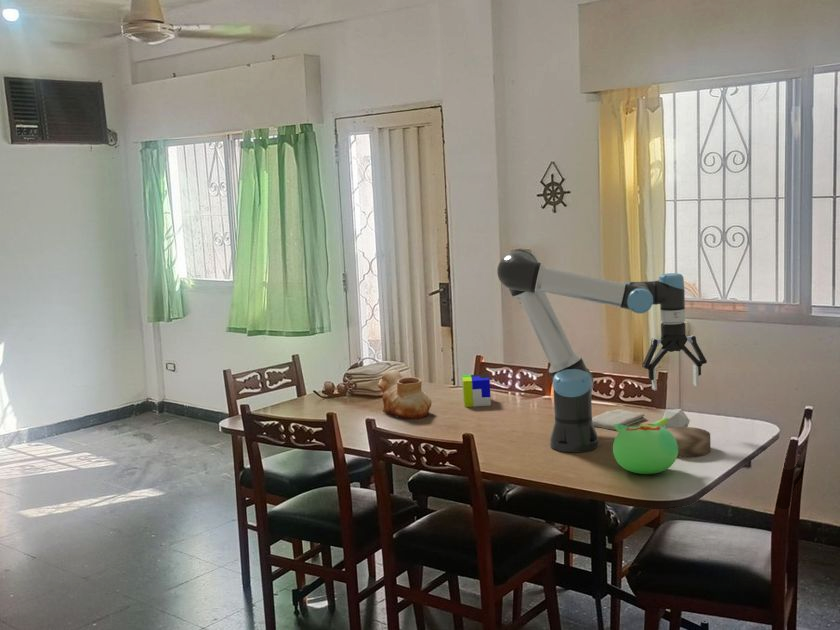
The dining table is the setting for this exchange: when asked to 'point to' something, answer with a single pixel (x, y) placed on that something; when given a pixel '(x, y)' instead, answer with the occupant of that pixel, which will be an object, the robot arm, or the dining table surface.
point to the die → (675, 418)
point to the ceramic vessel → (403, 396)
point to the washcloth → (616, 418)
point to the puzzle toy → (476, 390)
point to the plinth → (691, 441)
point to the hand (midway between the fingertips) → (675, 387)
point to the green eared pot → (645, 447)
